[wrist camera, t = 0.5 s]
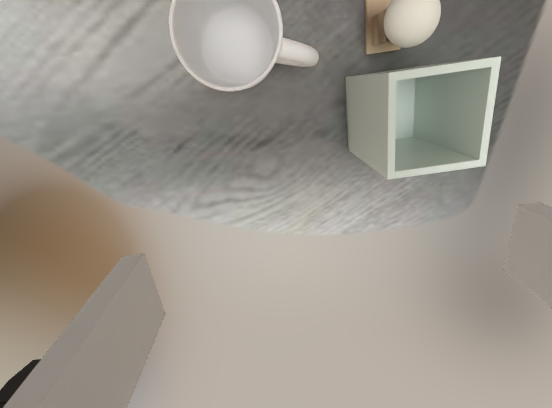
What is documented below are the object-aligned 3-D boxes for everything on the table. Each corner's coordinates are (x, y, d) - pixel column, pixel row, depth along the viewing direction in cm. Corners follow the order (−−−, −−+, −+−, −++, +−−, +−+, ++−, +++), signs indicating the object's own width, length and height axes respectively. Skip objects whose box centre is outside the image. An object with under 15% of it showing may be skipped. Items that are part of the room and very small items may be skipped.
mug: (319, 22, 30) (345, -7, 21) (299, 104, 33) (315, 112, 24) (202, -10, 29) (173, -56, 19) (193, 79, 32) (163, 77, 22)
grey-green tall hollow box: (345, 76, 32) (388, 72, 21) (418, 66, 32) (501, 56, 21) (348, 149, 35) (387, 179, 24) (415, 140, 35) (485, 165, 24)
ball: (376, -2, 26) (397, -18, 22) (425, -9, 26) (455, -26, 22) (376, 53, 28) (395, 48, 24) (422, 46, 28) (450, 40, 24)
